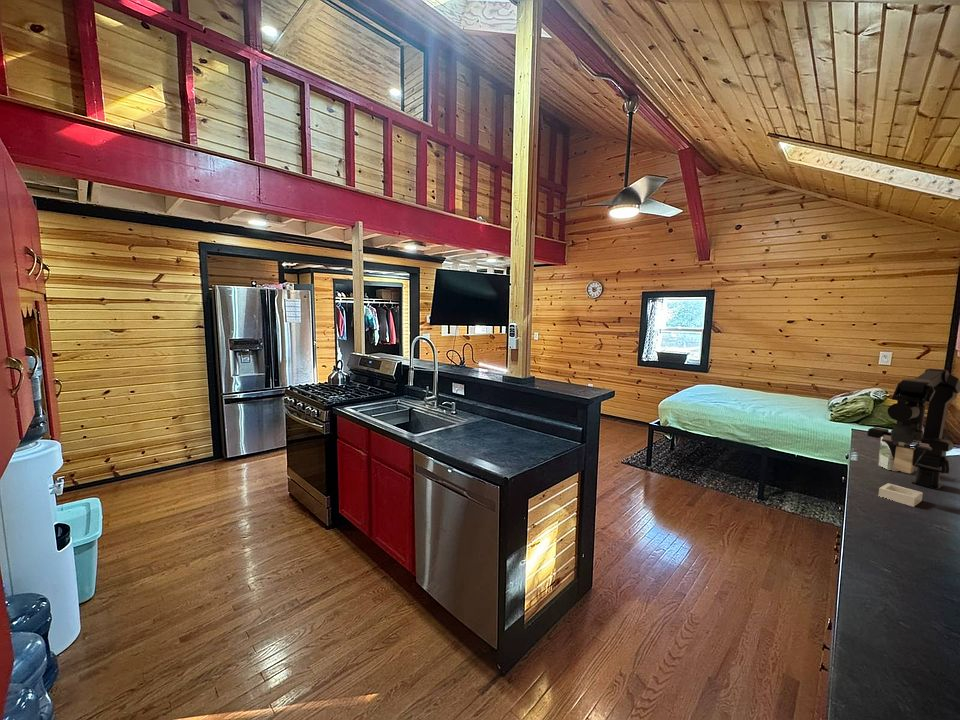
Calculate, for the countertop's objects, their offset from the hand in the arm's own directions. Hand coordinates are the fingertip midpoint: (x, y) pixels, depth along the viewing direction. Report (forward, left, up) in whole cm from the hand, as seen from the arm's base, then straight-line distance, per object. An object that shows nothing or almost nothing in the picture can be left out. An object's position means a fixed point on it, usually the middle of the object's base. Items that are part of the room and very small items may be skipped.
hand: (904, 463), depth 132 cm
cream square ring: (0, 0, -12) cm, 12 cm away
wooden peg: (0, 0, -3) cm, 2 cm away
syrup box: (-35, -11, -13) cm, 38 cm away
